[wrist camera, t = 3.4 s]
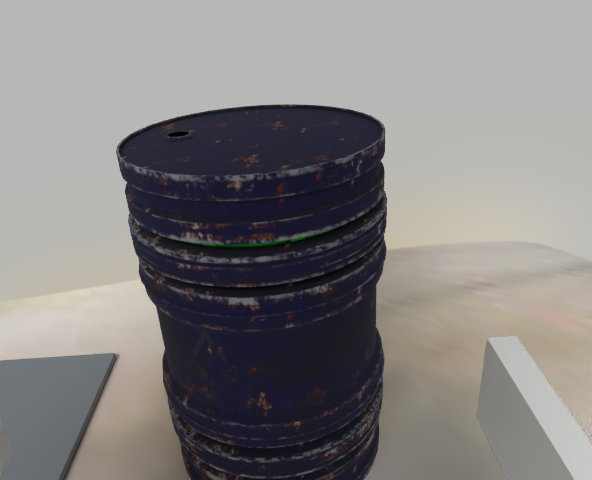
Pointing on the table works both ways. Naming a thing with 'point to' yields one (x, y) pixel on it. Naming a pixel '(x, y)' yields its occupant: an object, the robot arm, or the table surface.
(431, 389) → the table surface
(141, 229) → the rusty oil drum
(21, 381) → the pad
